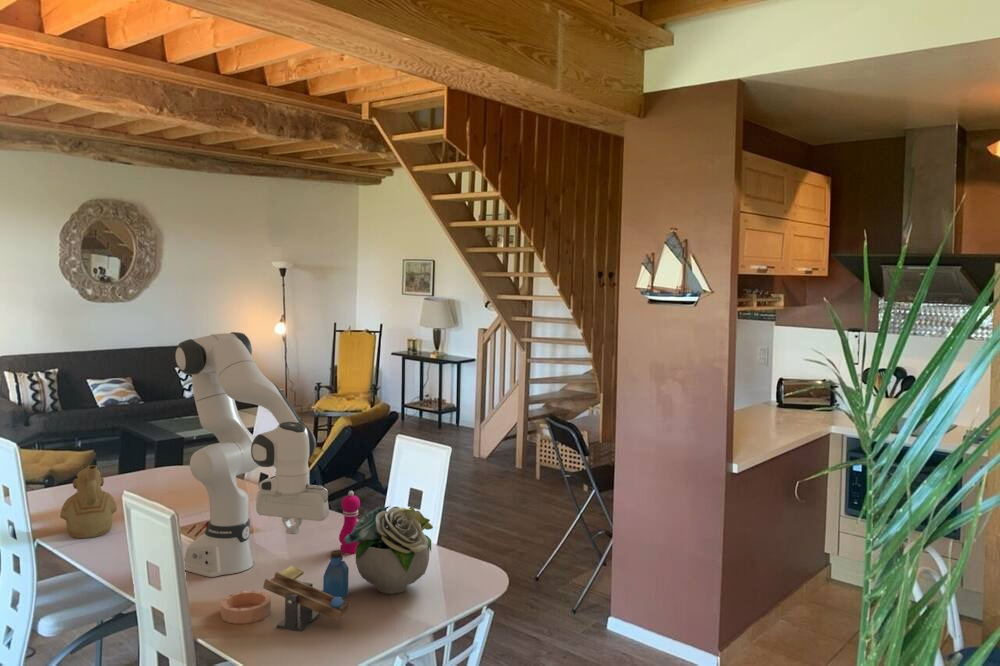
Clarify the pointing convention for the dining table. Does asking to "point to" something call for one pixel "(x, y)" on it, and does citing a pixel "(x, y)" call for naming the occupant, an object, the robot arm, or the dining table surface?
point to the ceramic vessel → (88, 506)
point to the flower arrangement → (391, 547)
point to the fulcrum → (296, 614)
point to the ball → (337, 602)
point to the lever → (304, 593)
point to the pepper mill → (349, 522)
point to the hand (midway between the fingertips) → (292, 533)
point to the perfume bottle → (336, 576)
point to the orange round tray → (245, 607)
